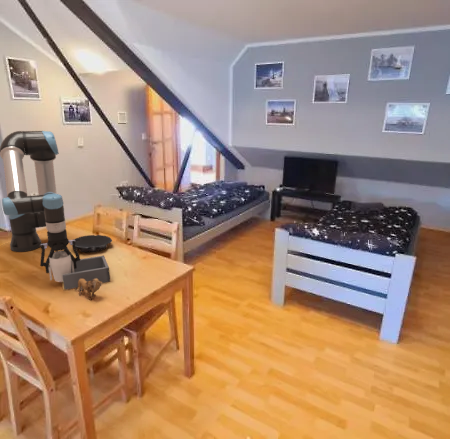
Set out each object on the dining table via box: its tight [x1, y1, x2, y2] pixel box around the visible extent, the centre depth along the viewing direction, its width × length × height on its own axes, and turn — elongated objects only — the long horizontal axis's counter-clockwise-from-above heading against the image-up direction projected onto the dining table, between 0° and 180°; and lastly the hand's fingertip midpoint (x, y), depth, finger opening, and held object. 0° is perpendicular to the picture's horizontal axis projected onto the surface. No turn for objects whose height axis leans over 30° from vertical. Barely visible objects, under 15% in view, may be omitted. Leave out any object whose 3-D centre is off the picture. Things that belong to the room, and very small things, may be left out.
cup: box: [49, 250, 72, 283], centre depth 150 cm, size 9×9×12 cm
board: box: [74, 234, 113, 253], centre depth 190 cm, size 22×22×5 cm
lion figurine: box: [73, 278, 103, 301], centre depth 142 cm, size 15×5×9 cm, turn 67°
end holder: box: [61, 255, 111, 291], centre depth 156 cm, size 14×20×7 cm
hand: (62, 276), depth 152 cm, fingers closed on cup, 9 cm apart
